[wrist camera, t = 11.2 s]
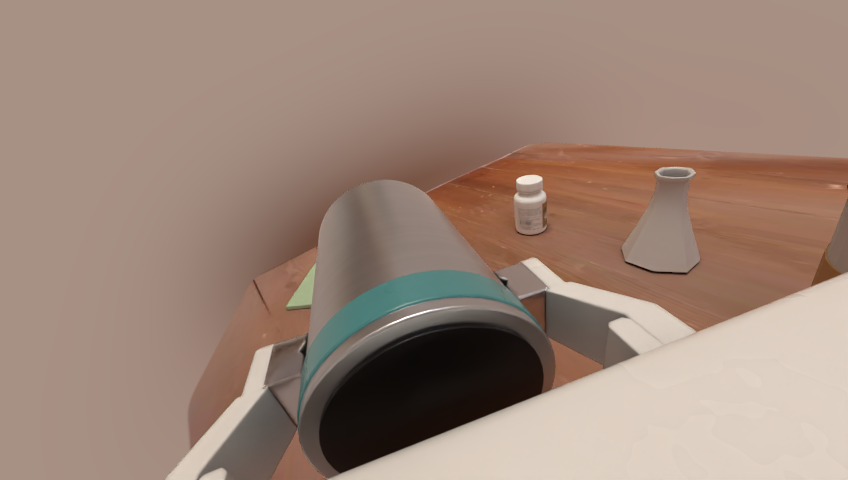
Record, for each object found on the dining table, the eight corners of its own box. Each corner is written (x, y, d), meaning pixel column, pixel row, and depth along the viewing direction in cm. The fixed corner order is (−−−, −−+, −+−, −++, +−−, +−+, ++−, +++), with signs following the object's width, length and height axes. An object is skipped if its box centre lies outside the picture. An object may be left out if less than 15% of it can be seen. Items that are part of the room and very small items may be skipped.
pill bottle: (552, 231, 44) (552, 180, 40) (522, 238, 44) (519, 188, 40) (538, 218, 48) (537, 171, 44) (511, 225, 48) (507, 178, 44)
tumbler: (560, 437, 9) (562, 265, 6) (352, 526, 8) (232, 381, 5) (453, 270, 17) (431, 161, 14) (344, 308, 16) (295, 201, 13)
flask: (701, 245, 35) (725, 159, 30) (697, 282, 31) (724, 189, 26) (627, 234, 40) (637, 159, 35) (614, 265, 35) (624, 183, 30)
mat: (286, 310, 41) (285, 306, 40) (320, 259, 51) (319, 256, 51) (371, 301, 39) (370, 298, 38) (389, 250, 49) (388, 247, 49)
